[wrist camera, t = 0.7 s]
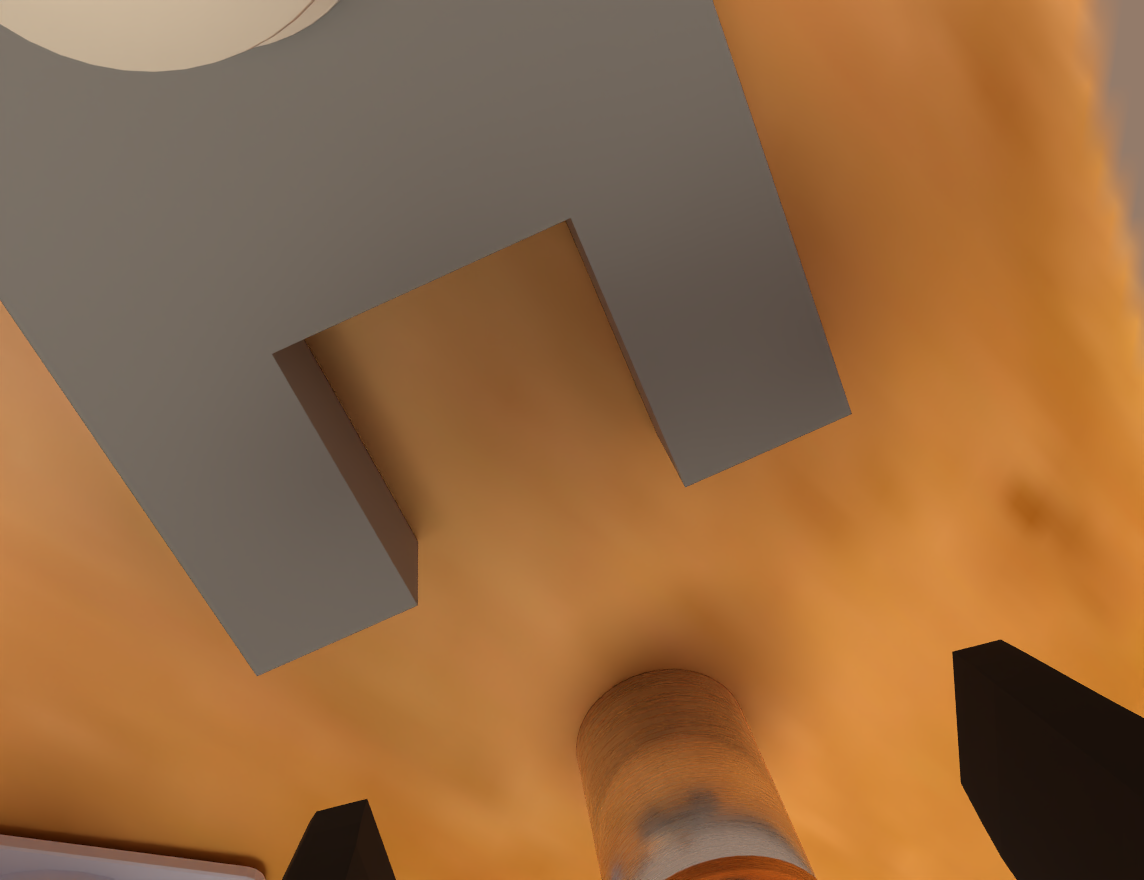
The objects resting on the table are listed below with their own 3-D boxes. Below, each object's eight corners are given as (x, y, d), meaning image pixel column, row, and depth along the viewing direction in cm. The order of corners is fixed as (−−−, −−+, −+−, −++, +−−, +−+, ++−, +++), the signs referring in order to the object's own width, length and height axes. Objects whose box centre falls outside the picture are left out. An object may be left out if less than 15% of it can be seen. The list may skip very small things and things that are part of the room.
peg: (714, 824, 26) (809, 1094, 20) (550, 799, 25) (593, 1075, 19) (774, 683, 25) (898, 924, 18) (603, 650, 24) (670, 894, 17)
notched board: (806, 369, 22) (984, 543, 15) (273, 605, 22) (207, 879, 15) (471, -589, 15) (512, -1058, 8) (-267, -226, 16) (-795, -393, 9)
